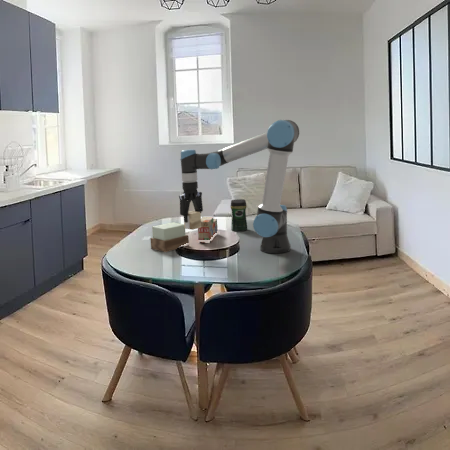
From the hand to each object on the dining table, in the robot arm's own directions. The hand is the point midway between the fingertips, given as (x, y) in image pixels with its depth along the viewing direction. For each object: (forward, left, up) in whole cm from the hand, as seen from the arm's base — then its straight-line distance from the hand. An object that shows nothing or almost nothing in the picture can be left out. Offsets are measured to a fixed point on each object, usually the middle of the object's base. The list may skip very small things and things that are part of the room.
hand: (192, 227), depth 251 cm
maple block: (0, 0, 0) cm, 0 cm away
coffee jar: (+14, -51, -13) cm, 54 cm away
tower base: (+17, +1, -13) cm, 22 cm away
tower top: (+17, +1, -7) cm, 19 cm away
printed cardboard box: (+14, -25, -13) cm, 31 cm away
